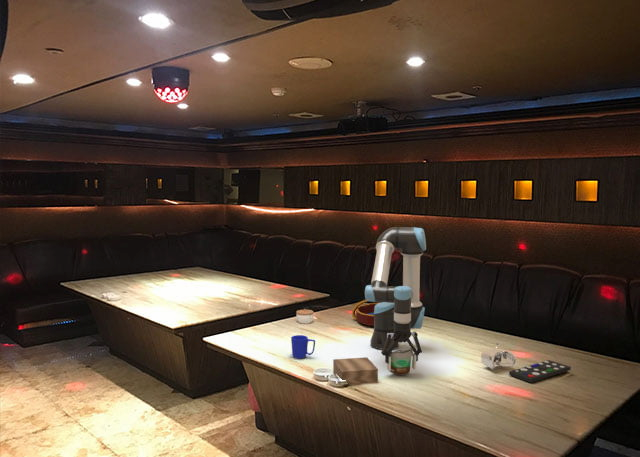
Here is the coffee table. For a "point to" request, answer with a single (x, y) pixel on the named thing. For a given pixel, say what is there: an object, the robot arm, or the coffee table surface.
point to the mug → (300, 346)
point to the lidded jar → (305, 316)
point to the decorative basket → (364, 313)
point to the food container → (401, 361)
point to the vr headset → (498, 358)
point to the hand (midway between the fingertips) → (401, 369)
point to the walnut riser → (356, 370)
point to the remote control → (539, 371)
